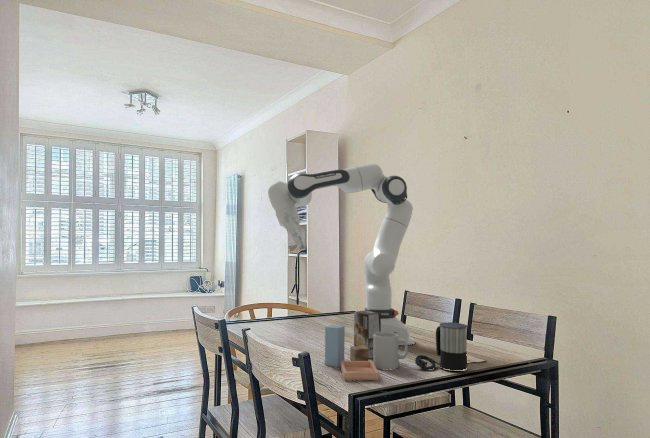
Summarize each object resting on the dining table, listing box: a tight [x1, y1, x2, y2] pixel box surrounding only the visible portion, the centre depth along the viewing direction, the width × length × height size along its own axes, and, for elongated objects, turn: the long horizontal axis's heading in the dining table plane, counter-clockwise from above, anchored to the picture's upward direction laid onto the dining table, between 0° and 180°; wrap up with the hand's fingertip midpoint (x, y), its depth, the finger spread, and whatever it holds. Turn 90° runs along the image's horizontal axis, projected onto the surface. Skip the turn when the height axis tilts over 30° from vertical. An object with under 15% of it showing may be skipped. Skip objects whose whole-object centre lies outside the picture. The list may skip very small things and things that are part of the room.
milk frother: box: [414, 321, 468, 371], centre depth 151 cm, size 14×16×15 cm
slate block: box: [324, 324, 346, 368], centre depth 155 cm, size 5×5×13 cm
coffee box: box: [353, 310, 381, 359], centre depth 168 cm, size 9×6×16 cm
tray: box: [340, 360, 379, 382], centre depth 143 cm, size 11×14×2 cm
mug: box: [372, 332, 409, 371], centre depth 152 cm, size 12×8×11 cm
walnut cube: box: [349, 345, 369, 361], centre depth 159 cm, size 5×5×5 cm
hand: (301, 247), depth 183 cm, fingers open, 8 cm apart
